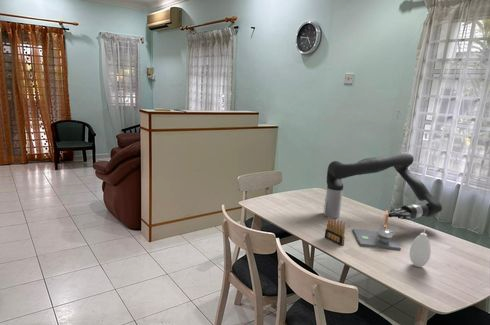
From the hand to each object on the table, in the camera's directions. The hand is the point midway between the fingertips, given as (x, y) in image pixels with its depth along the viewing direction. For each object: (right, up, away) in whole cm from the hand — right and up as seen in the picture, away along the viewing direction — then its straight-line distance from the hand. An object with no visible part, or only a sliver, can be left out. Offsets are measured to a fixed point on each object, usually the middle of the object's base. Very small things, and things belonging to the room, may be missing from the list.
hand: (388, 215), depth 171 cm
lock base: (-8, -12, -3) cm, 15 cm away
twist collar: (-4, -8, -4) cm, 10 cm away
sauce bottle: (+1, -18, -26) cm, 32 cm away
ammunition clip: (-31, -12, -7) cm, 34 cm away
